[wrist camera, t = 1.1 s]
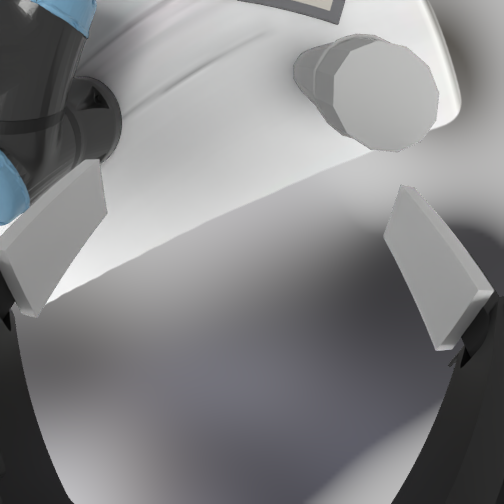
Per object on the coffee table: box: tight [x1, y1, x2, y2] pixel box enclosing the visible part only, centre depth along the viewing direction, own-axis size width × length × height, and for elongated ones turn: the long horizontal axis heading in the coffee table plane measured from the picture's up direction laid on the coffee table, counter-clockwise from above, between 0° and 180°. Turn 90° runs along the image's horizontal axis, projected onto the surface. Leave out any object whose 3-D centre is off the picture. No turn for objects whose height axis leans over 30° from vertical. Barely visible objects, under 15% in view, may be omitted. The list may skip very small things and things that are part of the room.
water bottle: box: [294, 34, 439, 152], centre depth 24 cm, size 9×8×25 cm
